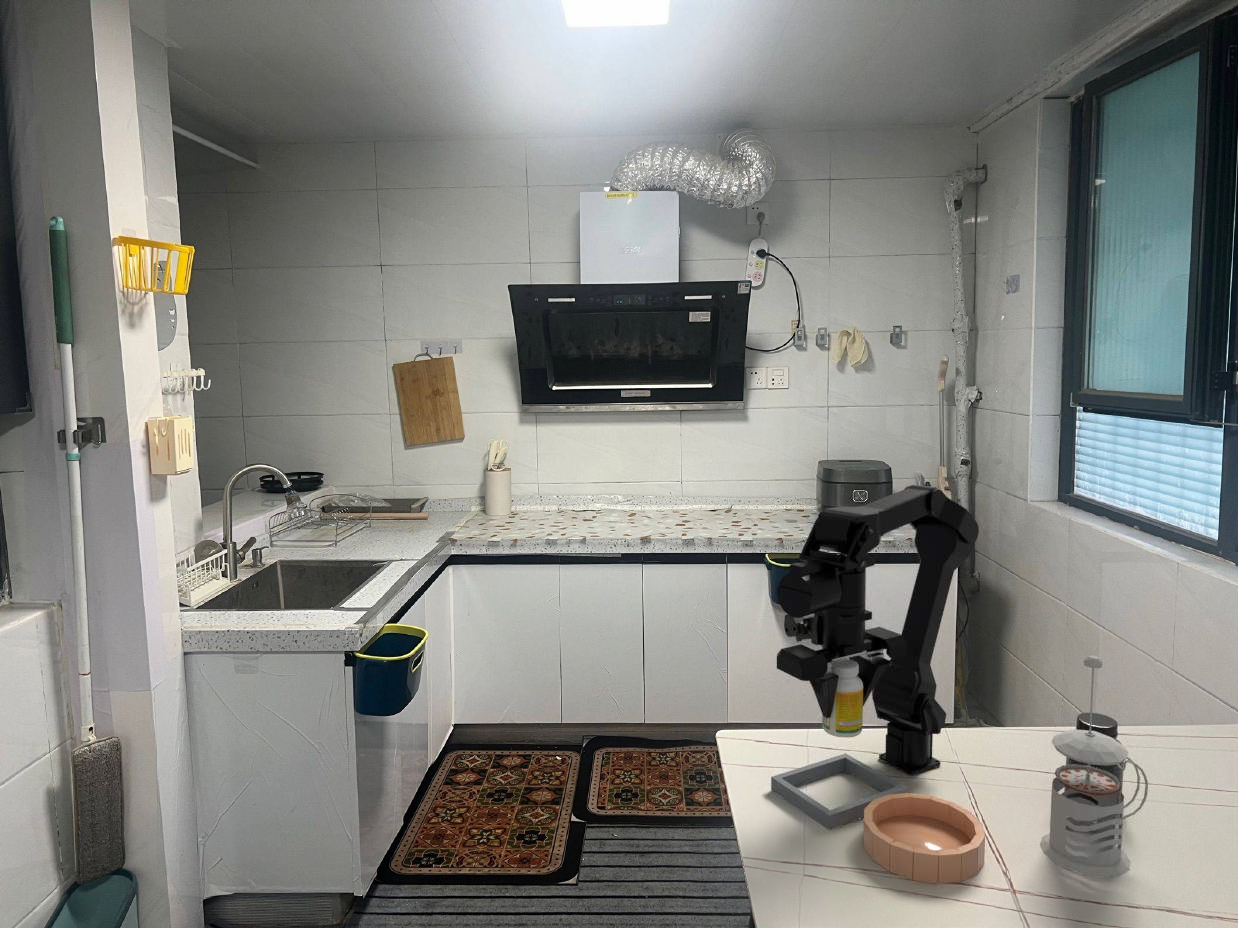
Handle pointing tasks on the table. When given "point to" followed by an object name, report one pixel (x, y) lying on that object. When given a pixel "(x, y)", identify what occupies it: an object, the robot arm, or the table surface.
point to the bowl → (924, 838)
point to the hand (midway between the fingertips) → (842, 712)
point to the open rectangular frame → (815, 771)
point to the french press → (1089, 802)
